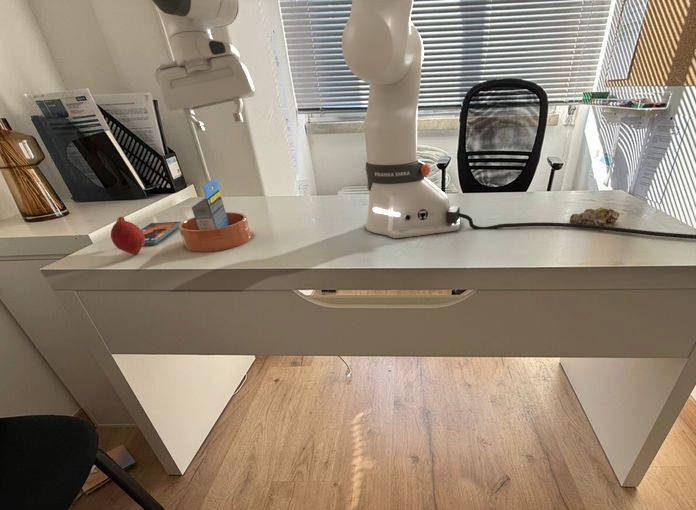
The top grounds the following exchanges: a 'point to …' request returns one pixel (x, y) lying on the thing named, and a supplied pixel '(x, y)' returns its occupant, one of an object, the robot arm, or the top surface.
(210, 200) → the grey product box
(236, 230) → the terracotta bowl
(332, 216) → the top surface
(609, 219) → the mineral rock
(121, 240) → the onion
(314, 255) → the top surface
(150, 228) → the smartphone
